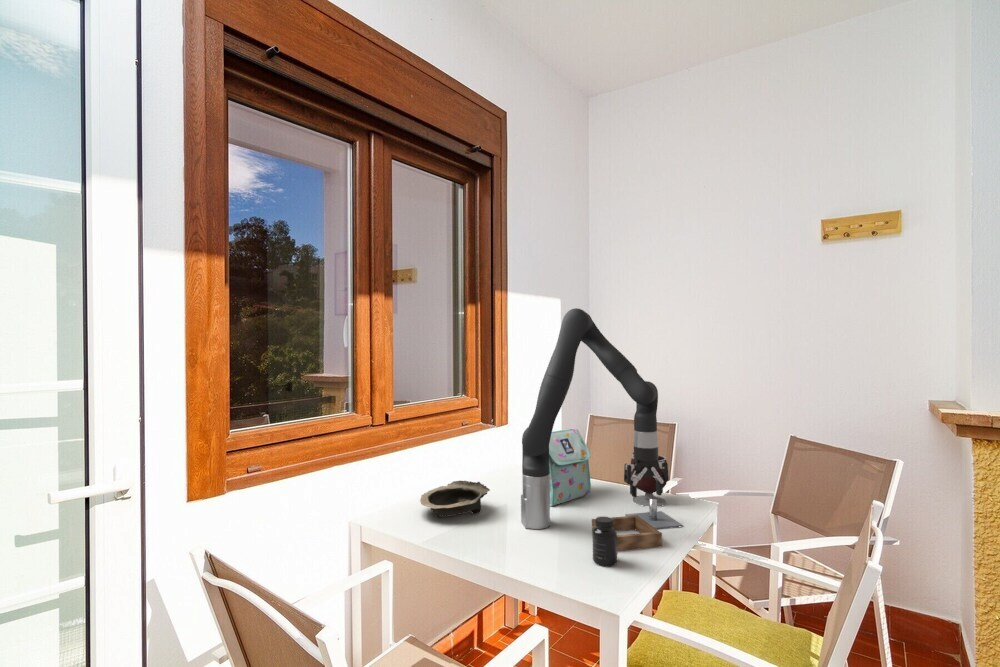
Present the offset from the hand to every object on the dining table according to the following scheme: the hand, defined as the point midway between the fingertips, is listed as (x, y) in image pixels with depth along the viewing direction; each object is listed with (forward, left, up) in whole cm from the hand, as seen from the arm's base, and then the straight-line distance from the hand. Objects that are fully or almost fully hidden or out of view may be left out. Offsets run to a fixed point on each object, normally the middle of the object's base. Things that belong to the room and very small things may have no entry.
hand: (646, 495), depth 162 cm
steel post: (+9, +12, -13) cm, 20 cm away
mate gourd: (+17, +31, -13) cm, 37 cm away
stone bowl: (-57, +36, -13) cm, 69 cm away
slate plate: (+9, +12, -13) cm, 20 cm away
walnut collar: (-7, 0, -13) cm, 15 cm away
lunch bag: (-14, +44, -13) cm, 48 cm away
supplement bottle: (-20, -14, -13) cm, 28 cm away
